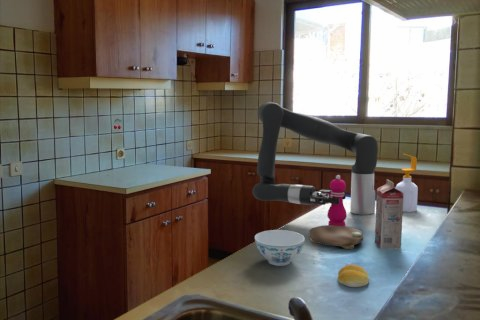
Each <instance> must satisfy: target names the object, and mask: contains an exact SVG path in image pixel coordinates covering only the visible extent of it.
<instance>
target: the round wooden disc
mask: <svg viewBox="0 0 480 320" xmlns="http://www.w3.org/2000/svg"><path fill="white" fill-rule="evenodd" d="M308 235H309V239H310V242H312V243H317V244H318V243H319V244H321V245H326V246H334V247H335V246H336V247H338V246H339V247H341V248H342V249H345V250H353V249H354V247H355V245H358V244H360V243H362V242H363V239H364V234H363V232H362V231H361V230H359V229H357V228H354V227H351V226H346V225H345V226H338V225H319V226H315V227H312V228H311V229H309V234H308Z"/></svg>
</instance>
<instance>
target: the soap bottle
mask: <svg viewBox="0 0 480 320" xmlns="http://www.w3.org/2000/svg"><path fill="white" fill-rule="evenodd" d="M403 156H408V157H409V158H410V159H411V161H410V168H401V169H400V171H403V173H405V175H403V176H402V180H401V181H400V182H398V183H397V184H396V186H395V188H396V189H398V190H399V191H401V192H402V193H404V196H403V213H404V212H405V213H413V212H416V211H417V209H418V194H419V193H418V191H419V188H418V185H416V184H415V183H414V182H412V175H410V174H411V173H412V172H415V171H416V170H417V163H418V159H417V157H416V156H413V155H410V154H407V153H403Z"/></svg>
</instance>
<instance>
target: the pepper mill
mask: <svg viewBox="0 0 480 320" xmlns="http://www.w3.org/2000/svg"><path fill="white" fill-rule="evenodd" d="M329 183H330V184H329V188H330V189H329V190H332V191H331V196H332V197H333V198H339V204H331V203H330V207H329V209H328V211H327V218H328V225H338V226H346V222H345V220H347V217H348V215H347V210H346V208H345V206H344V199H343V196H344V193H345V192H344V191H345V190H346V188H347V184H346V182H345V180H343V179H341V175H340V174H337V175H335V178H334V179H332V180H331V181H330V182H329Z"/></svg>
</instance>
